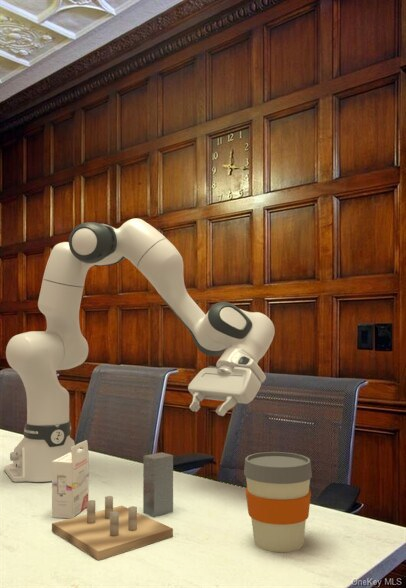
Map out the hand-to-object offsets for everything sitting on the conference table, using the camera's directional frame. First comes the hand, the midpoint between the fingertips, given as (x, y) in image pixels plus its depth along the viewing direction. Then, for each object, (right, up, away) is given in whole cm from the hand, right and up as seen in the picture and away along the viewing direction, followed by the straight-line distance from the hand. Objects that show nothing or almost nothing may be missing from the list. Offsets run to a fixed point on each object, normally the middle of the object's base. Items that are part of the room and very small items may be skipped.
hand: (205, 411), depth 126 cm
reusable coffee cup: (+13, -18, -27) cm, 35 cm away
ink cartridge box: (-29, -20, -9) cm, 37 cm away
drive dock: (-18, -19, -22) cm, 34 cm away
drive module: (-10, -19, -10) cm, 24 cm away
